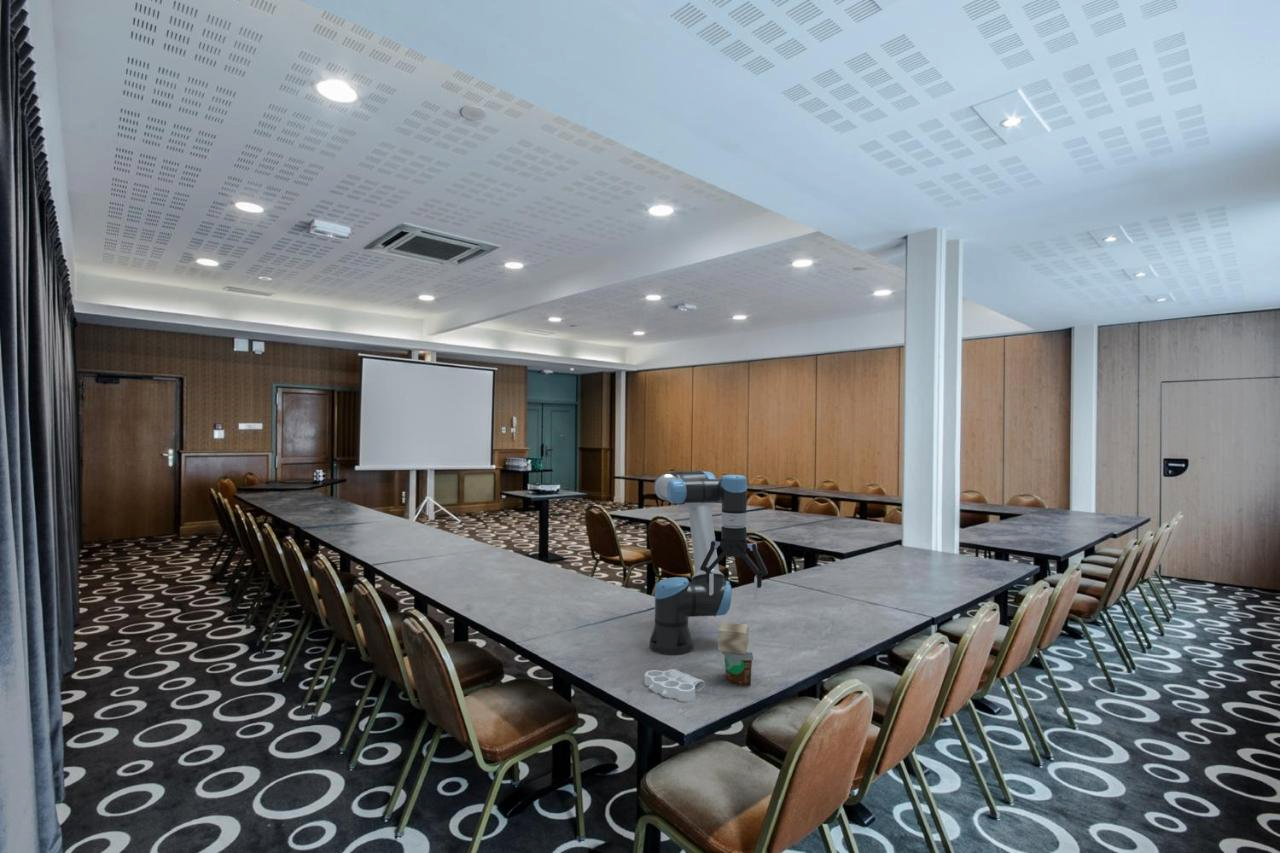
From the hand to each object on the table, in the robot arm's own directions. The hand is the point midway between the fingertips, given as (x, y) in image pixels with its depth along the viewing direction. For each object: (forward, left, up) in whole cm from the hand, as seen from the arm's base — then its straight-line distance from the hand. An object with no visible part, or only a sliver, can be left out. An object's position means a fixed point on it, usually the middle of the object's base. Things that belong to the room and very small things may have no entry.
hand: (733, 596), depth 184 cm
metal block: (0, -2, -15) cm, 15 cm away
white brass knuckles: (-15, -13, -25) cm, 32 cm away
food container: (0, -2, -25) cm, 25 cm away
